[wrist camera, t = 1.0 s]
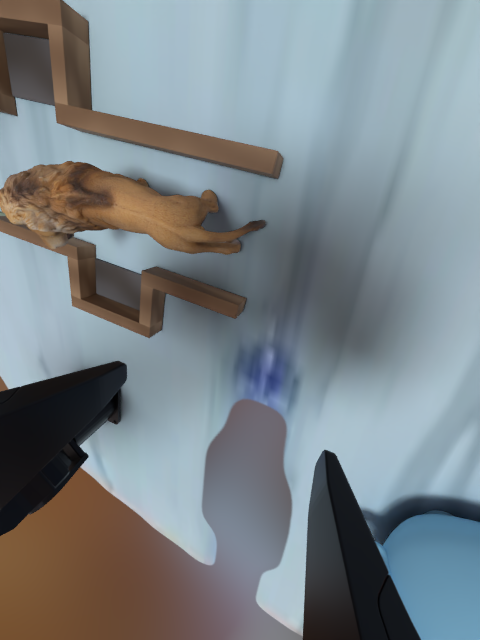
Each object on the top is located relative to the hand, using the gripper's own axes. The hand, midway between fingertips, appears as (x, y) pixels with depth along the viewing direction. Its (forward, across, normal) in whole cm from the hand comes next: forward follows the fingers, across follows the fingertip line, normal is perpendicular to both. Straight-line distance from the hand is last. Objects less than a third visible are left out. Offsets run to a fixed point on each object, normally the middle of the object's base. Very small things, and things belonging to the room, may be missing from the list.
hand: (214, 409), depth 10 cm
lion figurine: (+12, +10, -5) cm, 16 cm away
